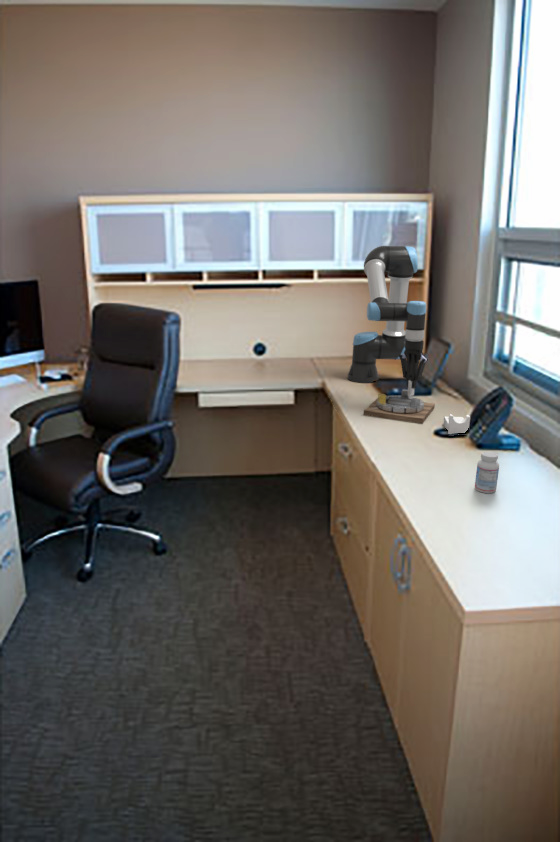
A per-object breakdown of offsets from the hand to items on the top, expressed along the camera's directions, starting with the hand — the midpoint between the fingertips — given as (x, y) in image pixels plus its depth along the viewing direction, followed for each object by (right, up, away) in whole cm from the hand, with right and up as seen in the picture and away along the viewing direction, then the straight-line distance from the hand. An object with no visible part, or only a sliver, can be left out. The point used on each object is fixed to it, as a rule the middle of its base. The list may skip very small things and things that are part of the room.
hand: (410, 395), depth 265 cm
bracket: (+12, -15, -25) cm, 31 cm away
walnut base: (-5, -7, -4) cm, 10 cm away
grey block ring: (-5, -5, -4) cm, 8 cm away
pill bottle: (+6, -31, -79) cm, 85 cm away
